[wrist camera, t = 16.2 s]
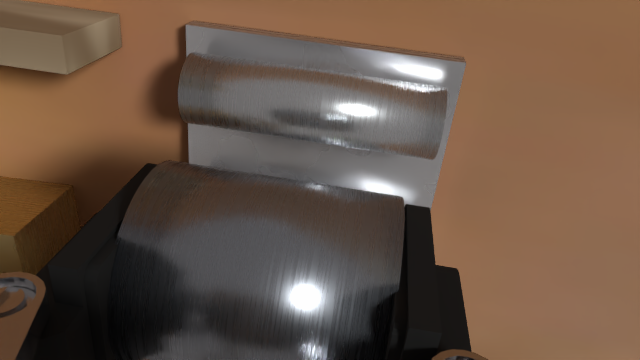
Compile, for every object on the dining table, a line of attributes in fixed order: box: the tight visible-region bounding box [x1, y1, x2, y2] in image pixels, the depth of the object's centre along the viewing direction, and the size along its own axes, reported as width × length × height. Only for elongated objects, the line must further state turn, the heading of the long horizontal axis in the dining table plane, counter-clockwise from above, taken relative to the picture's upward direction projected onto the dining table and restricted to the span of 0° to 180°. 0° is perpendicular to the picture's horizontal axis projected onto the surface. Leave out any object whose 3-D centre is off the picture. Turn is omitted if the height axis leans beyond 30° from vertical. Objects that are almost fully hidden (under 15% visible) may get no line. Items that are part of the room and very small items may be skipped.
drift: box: [0, 176, 81, 275], centre depth 21 cm, size 14×4×4 cm, turn 176°
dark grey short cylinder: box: [107, 160, 405, 360], centre depth 11 cm, size 5×4×4 cm
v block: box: [178, 21, 466, 210], centre depth 16 cm, size 8×7×3 cm
